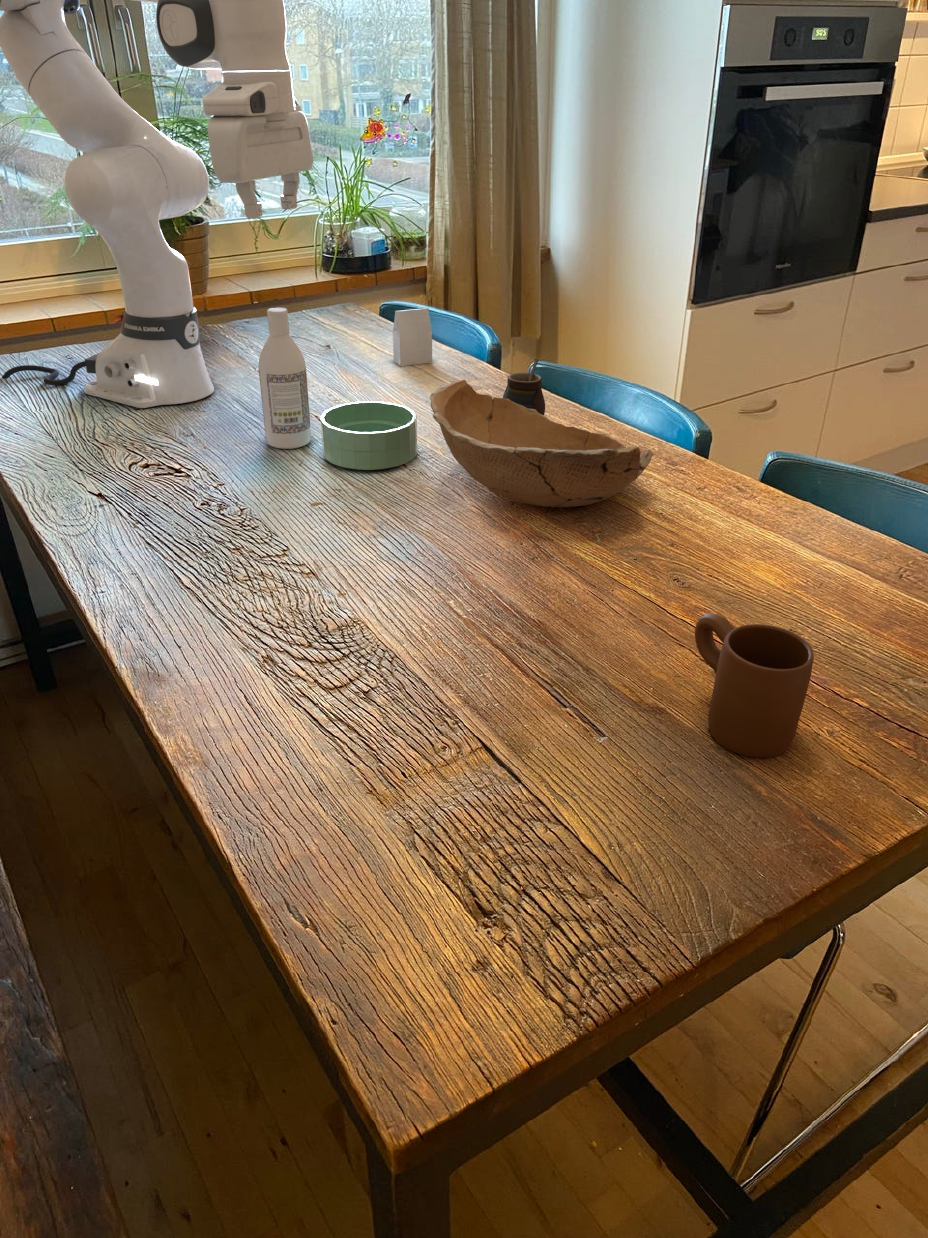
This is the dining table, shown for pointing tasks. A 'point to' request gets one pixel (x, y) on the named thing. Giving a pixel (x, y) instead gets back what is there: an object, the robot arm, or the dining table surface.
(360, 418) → the green pet bowl
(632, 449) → the ceramic bowl
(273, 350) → the bath foam
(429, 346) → the white boxy piece
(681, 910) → the dining table surface
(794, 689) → the mug
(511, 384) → the mate gourd
